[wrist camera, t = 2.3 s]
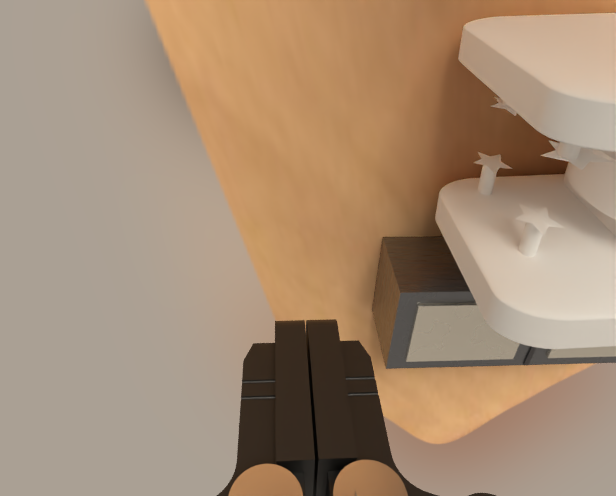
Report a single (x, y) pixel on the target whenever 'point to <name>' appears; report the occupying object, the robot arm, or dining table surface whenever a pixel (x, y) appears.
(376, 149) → the dining table surface
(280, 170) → the dining table surface
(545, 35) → the cable organizer
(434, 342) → the block
